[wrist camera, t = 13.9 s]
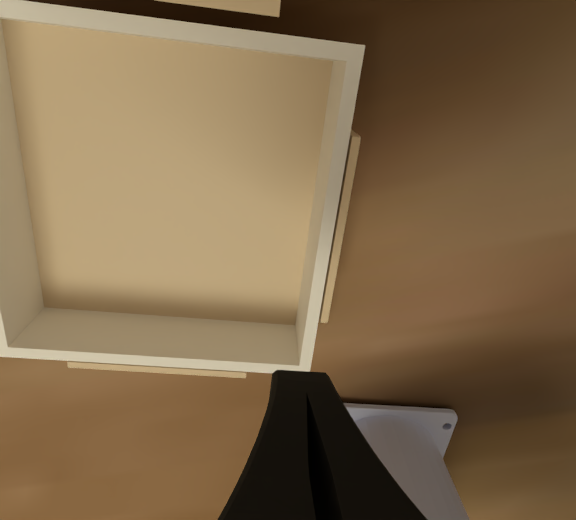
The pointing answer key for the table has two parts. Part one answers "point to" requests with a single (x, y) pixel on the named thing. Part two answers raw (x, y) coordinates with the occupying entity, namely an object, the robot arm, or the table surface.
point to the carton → (169, 190)
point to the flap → (237, 5)
